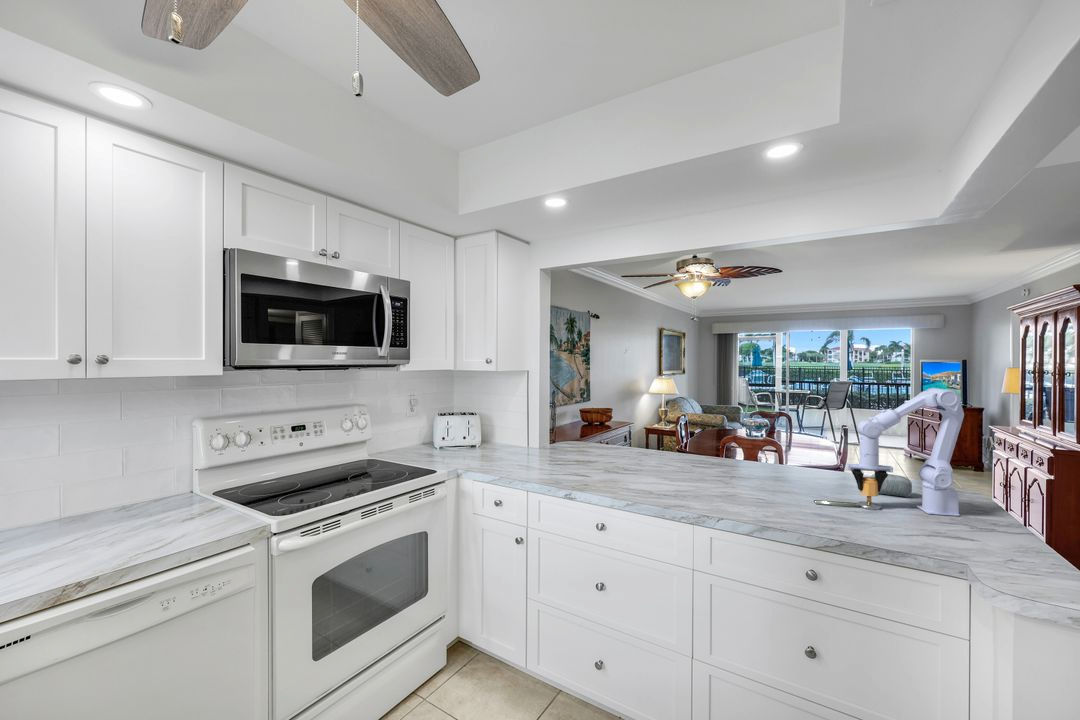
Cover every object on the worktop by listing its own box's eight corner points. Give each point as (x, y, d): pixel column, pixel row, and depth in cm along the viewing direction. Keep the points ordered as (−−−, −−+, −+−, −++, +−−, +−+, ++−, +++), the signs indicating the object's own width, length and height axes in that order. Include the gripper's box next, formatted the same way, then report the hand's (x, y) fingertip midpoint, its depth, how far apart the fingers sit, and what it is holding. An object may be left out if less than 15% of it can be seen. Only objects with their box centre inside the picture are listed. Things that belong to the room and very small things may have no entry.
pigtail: (875, 504, 172) (875, 492, 172) (884, 510, 165) (884, 498, 165) (811, 500, 178) (811, 488, 178) (817, 506, 171) (817, 494, 171)
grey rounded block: (867, 487, 183) (874, 464, 186) (865, 492, 191) (872, 470, 193) (909, 501, 175) (917, 477, 177) (906, 506, 183) (913, 483, 185)
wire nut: (873, 492, 172) (873, 476, 171) (879, 496, 167) (879, 480, 167) (858, 491, 173) (858, 475, 173) (863, 495, 168) (864, 479, 168)
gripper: (886, 452, 171) (886, 488, 172) (842, 450, 175) (842, 485, 175) (896, 456, 165) (896, 494, 165) (849, 454, 168) (849, 491, 169)
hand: (869, 490), depth 170 cm, fingers closed on wire nut, 5 cm apart
